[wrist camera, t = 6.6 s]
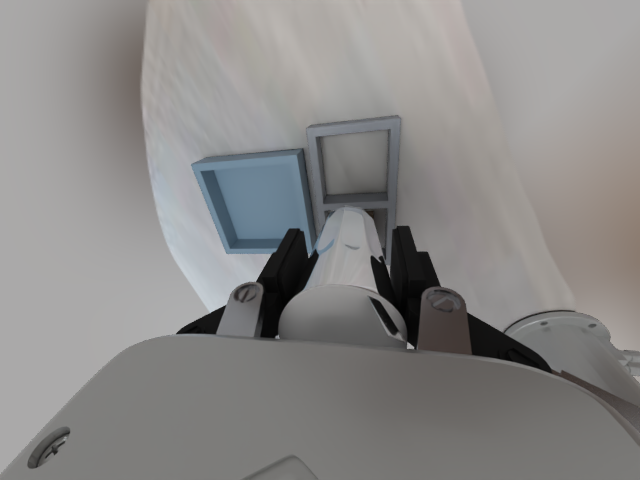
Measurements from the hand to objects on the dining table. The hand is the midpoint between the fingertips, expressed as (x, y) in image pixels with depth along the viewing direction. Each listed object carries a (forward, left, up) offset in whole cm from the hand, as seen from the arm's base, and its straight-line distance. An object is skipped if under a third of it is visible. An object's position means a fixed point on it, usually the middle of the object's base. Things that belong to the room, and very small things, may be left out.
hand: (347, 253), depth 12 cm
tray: (+12, +4, -17) cm, 21 cm away
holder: (0, +4, -17) cm, 17 cm away
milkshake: (0, 0, -4) cm, 4 cm away
